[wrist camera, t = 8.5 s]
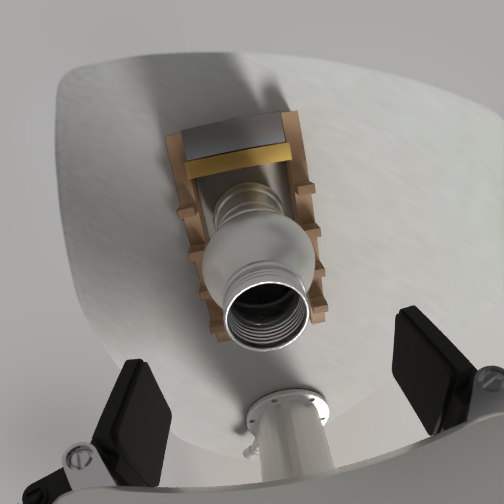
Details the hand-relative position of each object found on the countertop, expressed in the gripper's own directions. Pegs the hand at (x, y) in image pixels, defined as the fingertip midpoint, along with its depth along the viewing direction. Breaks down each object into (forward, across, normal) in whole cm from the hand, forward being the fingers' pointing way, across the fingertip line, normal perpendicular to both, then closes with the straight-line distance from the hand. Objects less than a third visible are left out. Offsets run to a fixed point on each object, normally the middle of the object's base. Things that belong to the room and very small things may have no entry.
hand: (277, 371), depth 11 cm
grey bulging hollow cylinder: (+23, 0, -2) cm, 23 cm away
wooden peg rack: (+23, 0, 0) cm, 23 cm away
